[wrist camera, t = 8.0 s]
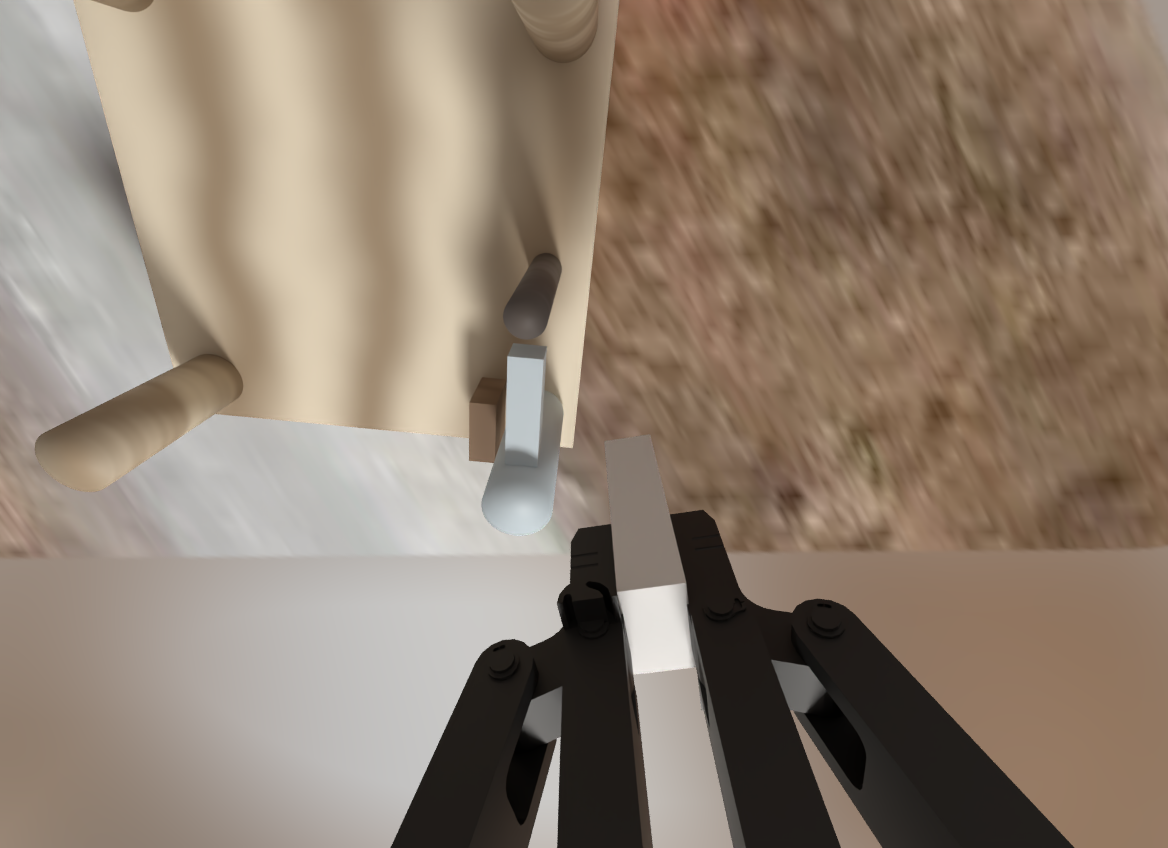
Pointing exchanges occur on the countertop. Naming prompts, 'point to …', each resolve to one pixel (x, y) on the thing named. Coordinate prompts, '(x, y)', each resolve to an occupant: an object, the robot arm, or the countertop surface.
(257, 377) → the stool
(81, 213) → the countertop surface
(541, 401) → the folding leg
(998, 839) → the robot arm
